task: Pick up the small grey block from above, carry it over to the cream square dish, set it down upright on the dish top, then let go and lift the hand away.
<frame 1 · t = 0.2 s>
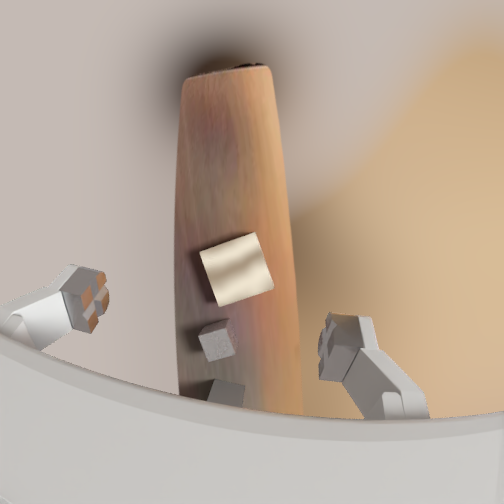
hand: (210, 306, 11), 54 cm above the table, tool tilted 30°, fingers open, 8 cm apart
cream square dish: (238, 267, 65), on the table
perfume bottle: (227, 394, 67), on the table
grey block: (221, 334, 66), on the table
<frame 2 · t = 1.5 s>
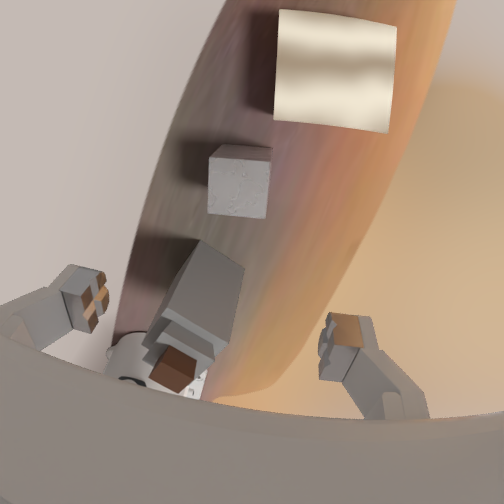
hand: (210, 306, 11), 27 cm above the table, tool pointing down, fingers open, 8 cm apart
cream square dish: (329, 71, 30), on the table
perfume bottle: (209, 271, 43), on the table
grey block: (246, 169, 36), on the table
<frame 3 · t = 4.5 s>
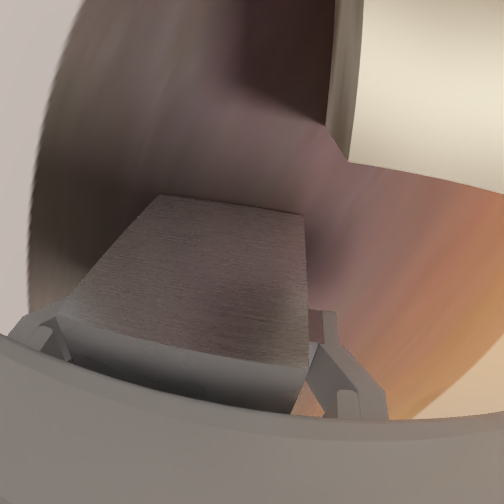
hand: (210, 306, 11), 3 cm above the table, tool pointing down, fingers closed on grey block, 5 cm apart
cream square dish: (476, 20, 7), on the table
grey block: (223, 265, 13), on the table, touching gripper
when the fingers open (9 cm above the table, at t = 11.0 s): grey block drops 1 cm, resting on cream square dish.
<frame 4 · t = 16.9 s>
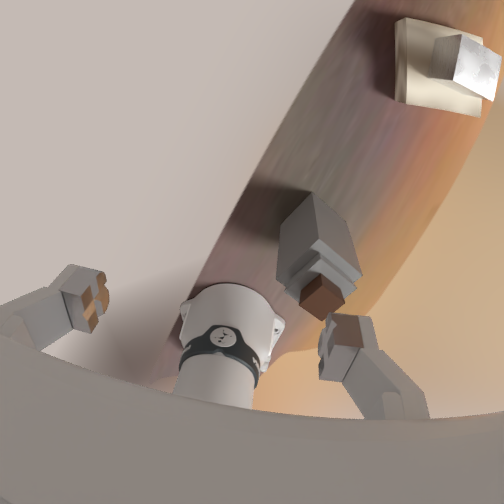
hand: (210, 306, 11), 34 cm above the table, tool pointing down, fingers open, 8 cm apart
cream square dish: (431, 67, 33), on the table, touching grey block
perfume bottle: (313, 222, 46), on the table
grey block: (450, 66, 28), point 5 cm above the table, touching cream square dish
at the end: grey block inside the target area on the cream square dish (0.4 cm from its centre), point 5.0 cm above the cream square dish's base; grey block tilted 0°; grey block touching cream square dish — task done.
